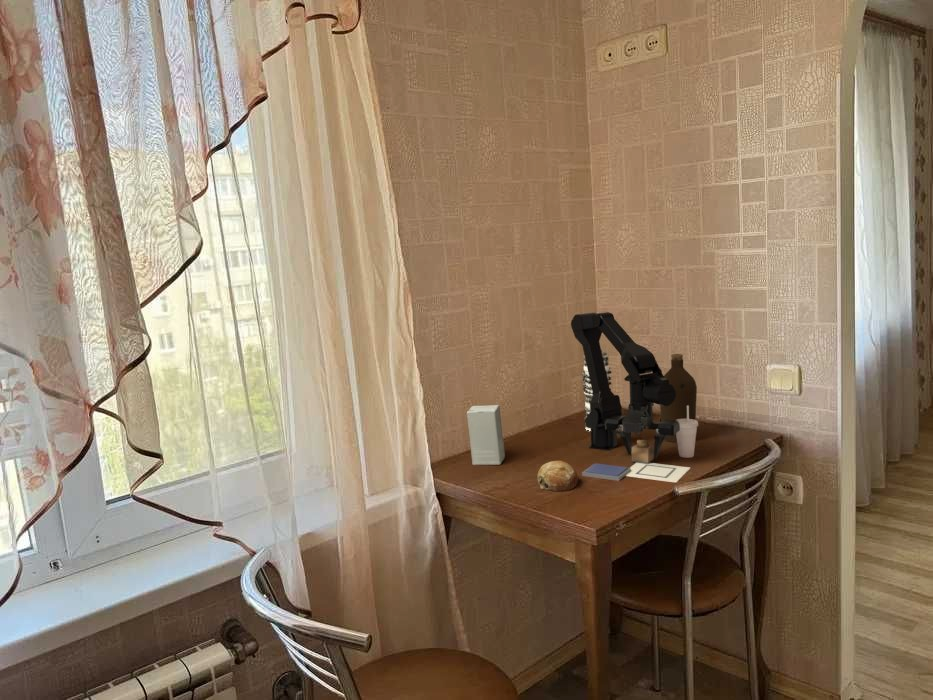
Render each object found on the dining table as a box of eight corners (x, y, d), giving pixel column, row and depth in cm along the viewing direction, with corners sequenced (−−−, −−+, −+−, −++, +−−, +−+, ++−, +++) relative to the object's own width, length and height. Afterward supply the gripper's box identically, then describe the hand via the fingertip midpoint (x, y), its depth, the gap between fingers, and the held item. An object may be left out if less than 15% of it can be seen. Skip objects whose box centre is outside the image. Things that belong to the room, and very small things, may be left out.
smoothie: (700, 459, 191) (699, 408, 189) (675, 459, 193) (674, 408, 191) (697, 452, 198) (696, 402, 196) (673, 452, 199) (672, 403, 197)
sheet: (621, 476, 183) (621, 474, 182) (637, 462, 192) (637, 460, 192) (676, 483, 175) (676, 481, 175) (690, 468, 185) (690, 467, 185)
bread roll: (535, 498, 181) (524, 474, 178) (557, 471, 187) (547, 448, 184) (566, 506, 174) (556, 481, 171) (588, 478, 180) (579, 454, 177)
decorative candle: (616, 425, 230) (613, 348, 227) (609, 433, 222) (606, 353, 218) (588, 424, 234) (585, 348, 230) (580, 431, 226) (577, 353, 222)
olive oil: (705, 438, 210) (704, 354, 206) (679, 445, 205) (677, 359, 201) (678, 431, 219) (676, 350, 215) (652, 438, 214) (650, 355, 210)
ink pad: (582, 476, 184) (581, 471, 184) (594, 467, 191) (594, 462, 191) (619, 481, 179) (619, 476, 179) (630, 471, 185) (630, 466, 185)
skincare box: (505, 458, 203) (502, 404, 201) (499, 466, 196) (496, 410, 194) (476, 458, 206) (472, 404, 203) (469, 465, 199) (466, 410, 196)
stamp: (631, 461, 192) (631, 441, 192) (637, 458, 196) (637, 438, 195) (648, 463, 189) (648, 443, 189) (653, 460, 193) (653, 440, 193)
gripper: (595, 403, 189) (598, 460, 191) (666, 408, 178) (667, 469, 181) (612, 394, 198) (613, 449, 200) (679, 399, 188) (680, 456, 190)
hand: (642, 456), depth 192 cm, fingers open, 7 cm apart
